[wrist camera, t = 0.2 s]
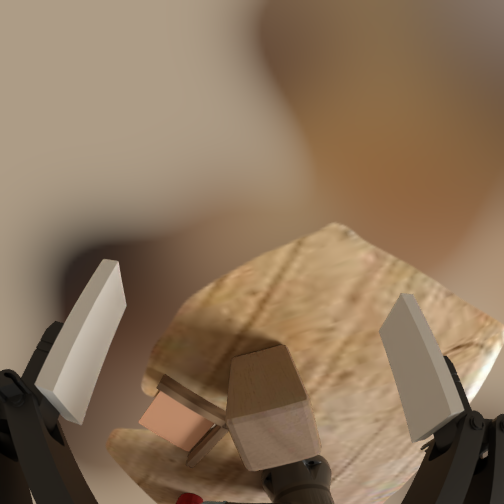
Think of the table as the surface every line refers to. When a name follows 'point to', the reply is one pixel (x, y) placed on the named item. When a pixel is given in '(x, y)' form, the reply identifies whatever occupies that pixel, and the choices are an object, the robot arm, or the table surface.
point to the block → (270, 410)
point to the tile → (175, 422)
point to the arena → (201, 408)
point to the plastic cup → (189, 499)
